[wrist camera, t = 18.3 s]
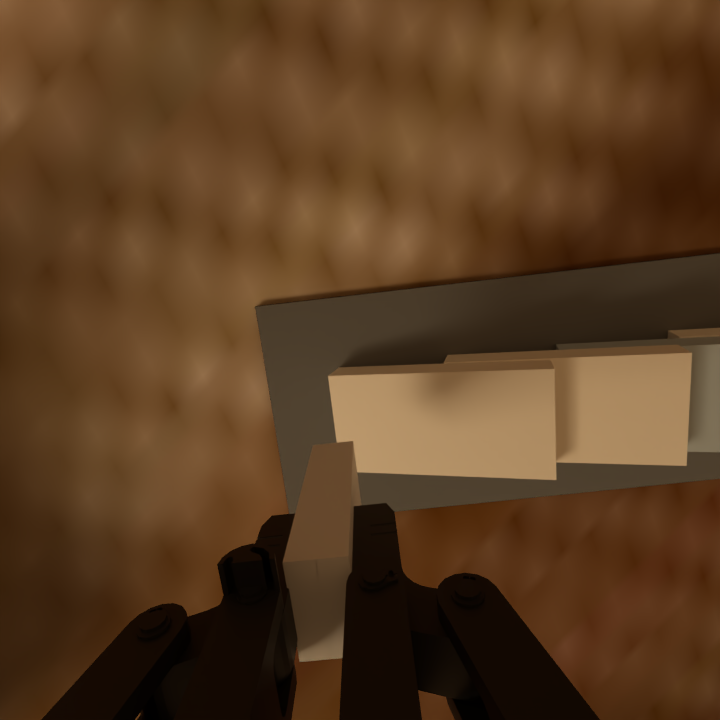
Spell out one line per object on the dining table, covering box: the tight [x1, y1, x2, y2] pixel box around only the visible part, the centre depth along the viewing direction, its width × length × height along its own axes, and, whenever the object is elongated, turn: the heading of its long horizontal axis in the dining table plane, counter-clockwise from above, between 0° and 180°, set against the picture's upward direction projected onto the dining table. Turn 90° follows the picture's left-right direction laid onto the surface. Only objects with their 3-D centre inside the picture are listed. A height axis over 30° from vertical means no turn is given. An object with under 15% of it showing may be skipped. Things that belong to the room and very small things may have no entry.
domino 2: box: [444, 345, 692, 466], centre depth 21 cm, size 2×5×10 cm
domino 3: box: [556, 336, 720, 452], centre depth 21 cm, size 2×5×10 cm
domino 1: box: [328, 360, 556, 480], centre depth 21 cm, size 2×5×10 cm
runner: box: [255, 253, 720, 514], centre depth 23 cm, size 30×12×1 cm, turn 97°
